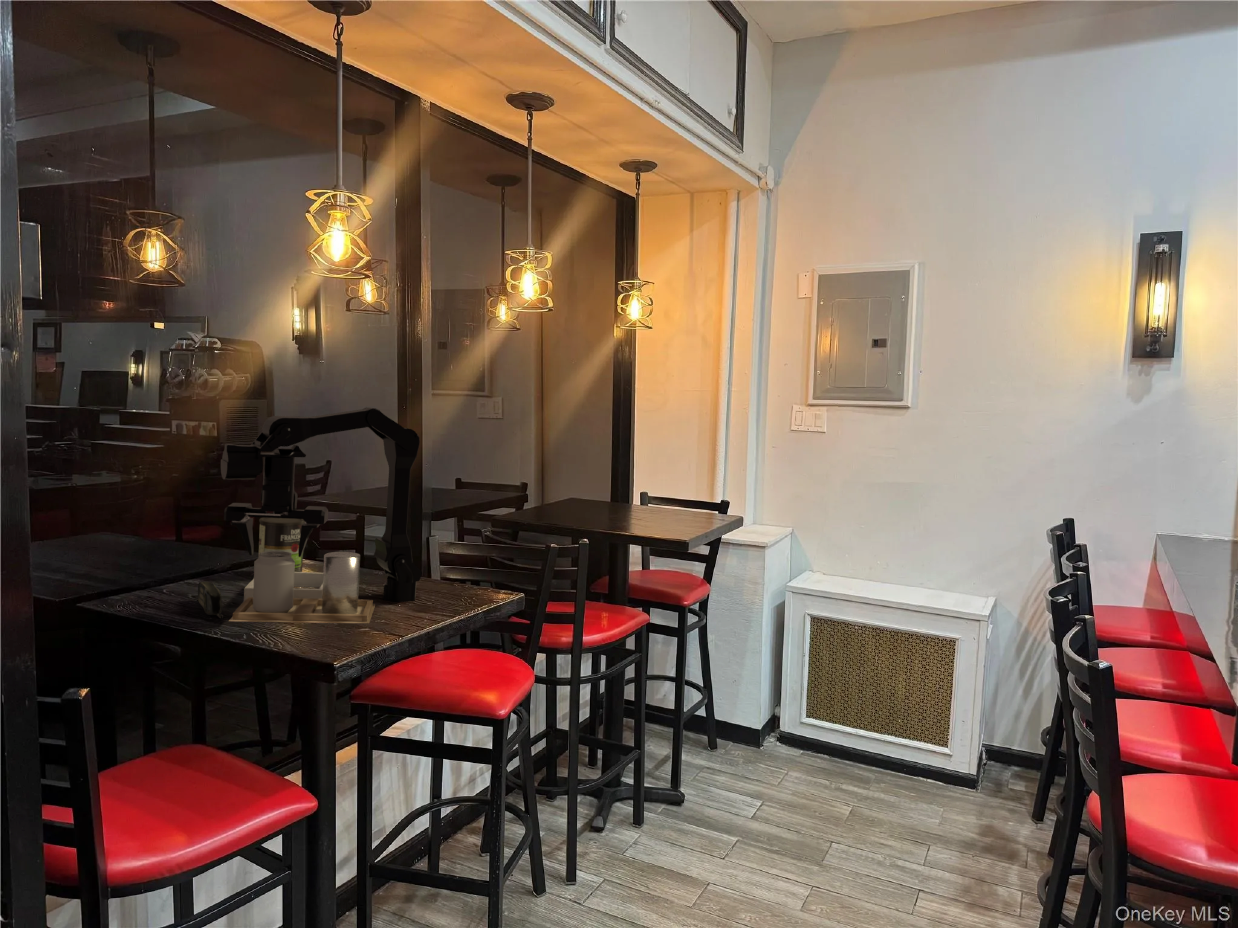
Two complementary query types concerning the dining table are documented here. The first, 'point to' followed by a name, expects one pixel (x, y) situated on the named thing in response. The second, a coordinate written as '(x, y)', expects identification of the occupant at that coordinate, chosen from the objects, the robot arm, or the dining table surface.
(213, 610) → the mobile phone
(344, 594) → the steel billet
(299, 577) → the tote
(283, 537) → the coffee can
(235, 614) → the wooden divided tray
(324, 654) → the dining table surface
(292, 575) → the can
